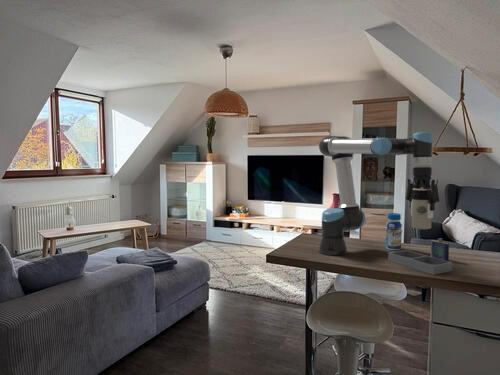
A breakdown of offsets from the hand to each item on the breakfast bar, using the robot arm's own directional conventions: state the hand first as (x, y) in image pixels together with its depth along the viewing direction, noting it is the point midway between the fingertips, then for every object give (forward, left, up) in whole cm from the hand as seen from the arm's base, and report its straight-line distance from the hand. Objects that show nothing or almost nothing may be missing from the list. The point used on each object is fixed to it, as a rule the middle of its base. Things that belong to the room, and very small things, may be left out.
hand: (421, 216), depth 150 cm
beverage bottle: (-30, +17, -24) cm, 42 cm away
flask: (-5, +21, -24) cm, 32 cm away
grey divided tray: (-3, +3, -24) cm, 24 cm away
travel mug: (0, 0, -5) cm, 5 cm away
